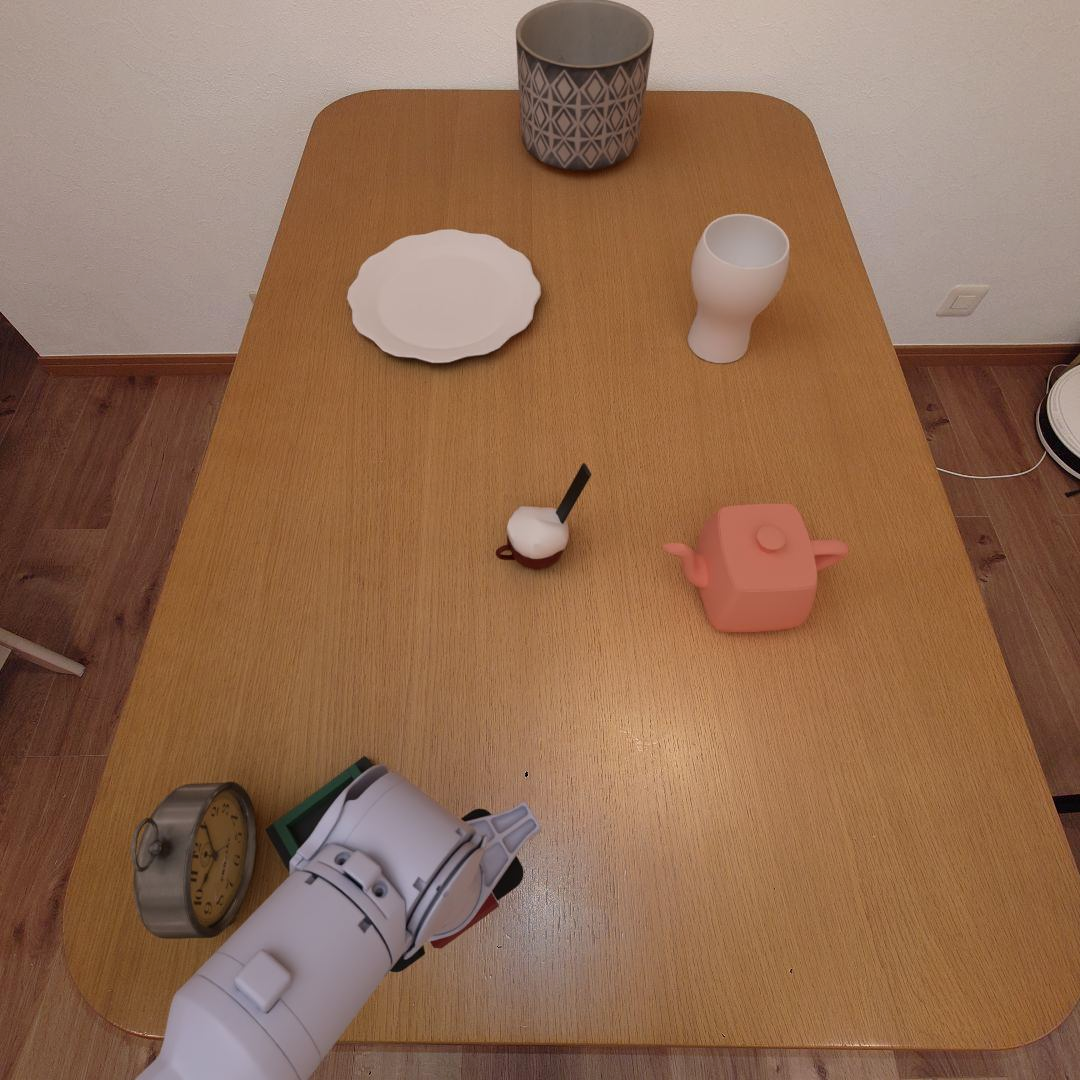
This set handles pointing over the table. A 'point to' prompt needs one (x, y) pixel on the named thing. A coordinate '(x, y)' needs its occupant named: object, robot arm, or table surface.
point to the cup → (734, 282)
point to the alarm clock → (194, 860)
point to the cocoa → (542, 529)
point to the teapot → (756, 567)
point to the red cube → (485, 909)
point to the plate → (444, 296)
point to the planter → (582, 82)
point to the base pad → (310, 813)
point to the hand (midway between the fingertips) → (451, 894)
